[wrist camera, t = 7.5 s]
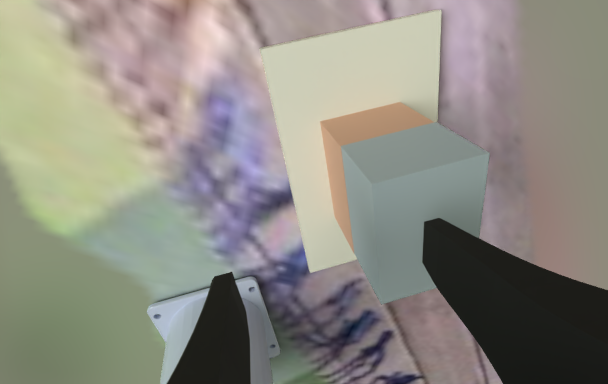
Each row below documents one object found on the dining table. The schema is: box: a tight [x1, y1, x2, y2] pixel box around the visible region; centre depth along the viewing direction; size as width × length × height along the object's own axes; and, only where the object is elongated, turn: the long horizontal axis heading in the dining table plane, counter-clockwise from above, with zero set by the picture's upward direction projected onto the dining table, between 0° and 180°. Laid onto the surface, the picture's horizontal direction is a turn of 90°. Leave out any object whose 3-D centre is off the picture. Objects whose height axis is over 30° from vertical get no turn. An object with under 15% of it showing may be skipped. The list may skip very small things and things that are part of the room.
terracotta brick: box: [320, 102, 434, 253], centre depth 20 cm, size 7×5×4 cm
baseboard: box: [259, 10, 441, 273], centre depth 22 cm, size 16×10×1 cm, turn 10°
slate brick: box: [341, 122, 490, 305], centre depth 17 cm, size 7×5×4 cm
